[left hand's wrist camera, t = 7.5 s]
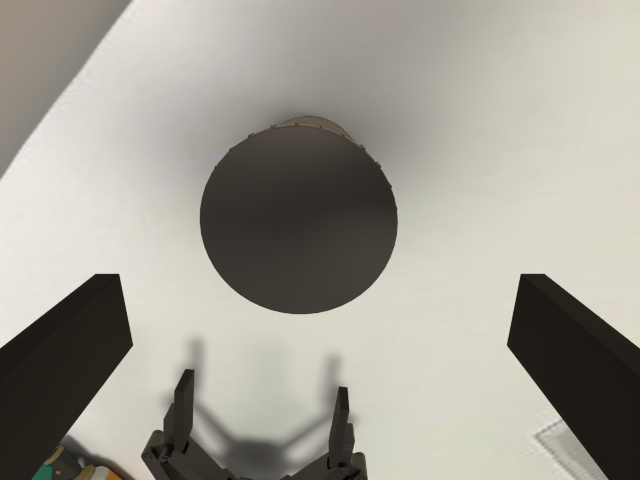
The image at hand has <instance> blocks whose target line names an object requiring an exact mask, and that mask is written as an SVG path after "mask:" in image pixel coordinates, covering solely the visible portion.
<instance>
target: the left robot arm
mask: <svg viewBox="0 0 640 480" xmlns="http://www.w3.org/2000/svg"><path fill="white" fill-rule="evenodd" d="M132 346H133V342H132V337H131V332H130V327H129V322H128V317H127V312H126V306H125V301H124V296H123V291H122V286H121V281H120V276H119V274H95V275H94V276H92V277H91V278H90V279H88V280H87V281H86V282H85V283H83V284H82V285H81V286H80V287H78V288H77V289H76V290H74V291H73V292H72V293H71V294H69V295H68V296H67V297H65V298H64V299H63V300H62V301H60V302H59V303H58V304H57V305H55V306H54V307H53V308H51V309H50V310H49V311H48V312H46V313H45V314H44V315H42V316H41V317H40V318H39V319H37V320H36V321H35V322H34V323H32V324H31V325H30V326H28V327H27V328H26V329H25V330H23V331H22V332H21V333H19V334H18V335H17V336H16V337H14V338H13V339H12V340H10V341H9V342H8V343H7V344H5V345H4V346H3V347H2V348H0V480H31V479H32V478H33V477H34V475H35V474H36V473H37V472H38V470H39V469H40V468H41V466H42V465H43V464H44V462H45V461H46V460H47V458H48V457H49V456H50V454H51V453H52V452H53V450H54V449H55V448H56V446H57V445H58V444H59V442H60V441H61V440H62V439H63V437H64V436H65V435H66V433H67V432H68V431H69V429H70V428H71V427H72V425H73V424H74V423H75V421H76V420H77V419H78V417H79V416H80V415H81V413H82V412H83V411H84V409H85V408H86V407H87V406H88V404H89V403H90V402H91V400H92V399H93V398H94V396H95V395H96V394H97V392H98V391H99V390H100V388H101V387H102V386H103V384H104V383H105V382H106V380H107V379H108V378H109V376H110V375H111V374H112V372H113V371H114V370H115V369H116V367H117V366H118V365H119V363H120V362H121V361H122V359H123V358H124V357H125V355H126V354H127V353H128V351H129V350H130V349H131V347H132ZM507 346H508V347H509V349H510V350H511V351H512V353H513V354H514V355H515V357H516V358H517V359H518V361H519V362H520V363H521V365H522V366H523V367H524V369H525V370H526V371H527V372H528V374H529V375H530V376H531V378H532V379H533V380H534V382H535V383H536V384H537V386H538V387H539V388H540V390H541V391H542V392H543V394H544V395H545V396H546V398H547V399H548V400H549V402H550V403H551V404H552V406H553V407H554V408H555V409H556V411H557V412H558V413H559V415H560V416H561V417H562V419H563V420H564V421H565V423H566V424H567V425H568V427H569V428H570V429H571V431H572V432H573V433H574V435H575V436H576V437H577V439H578V440H579V441H580V442H581V444H582V445H583V446H584V448H585V449H586V450H587V452H588V453H589V454H590V456H591V457H592V458H593V460H594V461H595V462H596V464H597V465H598V466H599V468H600V469H601V470H602V472H603V473H604V474H605V475H606V477H607V478H608V479H609V480H640V348H638V347H637V346H636V345H635V344H633V343H632V342H631V341H630V340H628V339H627V338H626V337H624V336H623V335H622V334H621V333H619V332H618V331H617V330H615V329H614V328H613V327H612V326H610V325H609V324H608V323H606V322H605V321H604V320H603V319H601V318H600V317H599V316H598V315H596V314H595V313H594V312H592V311H591V310H590V309H589V308H587V307H586V306H585V305H583V304H582V303H581V302H580V301H578V300H577V299H576V298H575V297H573V296H572V295H571V294H569V293H568V292H567V291H566V290H564V289H563V288H562V287H560V286H559V285H558V284H557V283H555V282H554V281H553V280H552V279H550V278H549V277H548V276H546V275H545V274H521V276H520V281H519V286H518V291H517V296H516V301H515V306H514V311H513V317H512V322H511V327H510V332H509V337H508V342H507Z"/></svg>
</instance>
